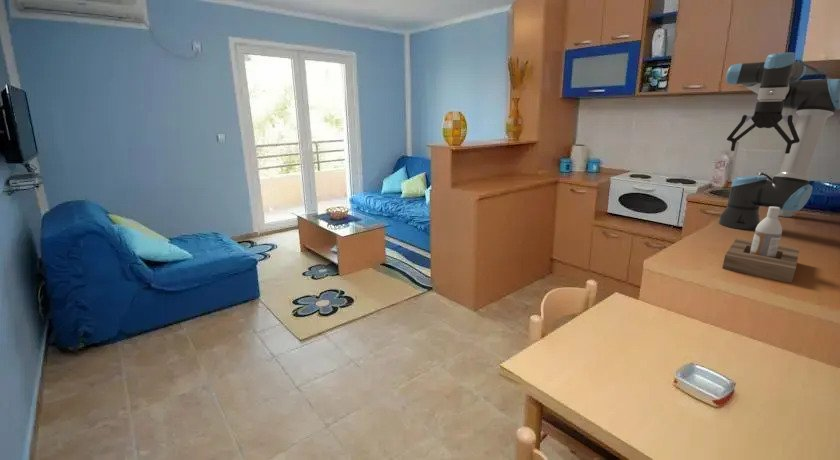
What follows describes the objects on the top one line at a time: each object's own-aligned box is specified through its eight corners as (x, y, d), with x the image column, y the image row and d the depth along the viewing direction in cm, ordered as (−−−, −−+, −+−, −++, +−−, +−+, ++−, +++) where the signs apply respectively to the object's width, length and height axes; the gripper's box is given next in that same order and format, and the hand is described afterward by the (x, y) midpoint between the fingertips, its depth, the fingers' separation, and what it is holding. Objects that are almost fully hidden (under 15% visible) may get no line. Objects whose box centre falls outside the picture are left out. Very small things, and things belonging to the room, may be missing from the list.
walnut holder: (733, 250, 156) (736, 238, 154) (795, 262, 144) (799, 249, 142) (722, 268, 139) (725, 254, 138) (791, 283, 127) (795, 268, 126)
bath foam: (743, 258, 145) (757, 204, 139) (766, 259, 144) (780, 205, 138) (753, 265, 139) (768, 209, 133) (777, 267, 137) (793, 210, 131)
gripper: (725, 101, 147) (714, 160, 153) (819, 100, 131) (802, 165, 137) (728, 101, 152) (717, 157, 159) (819, 99, 136) (802, 162, 143)
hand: (756, 161), depth 148 cm, fingers open, 13 cm apart
